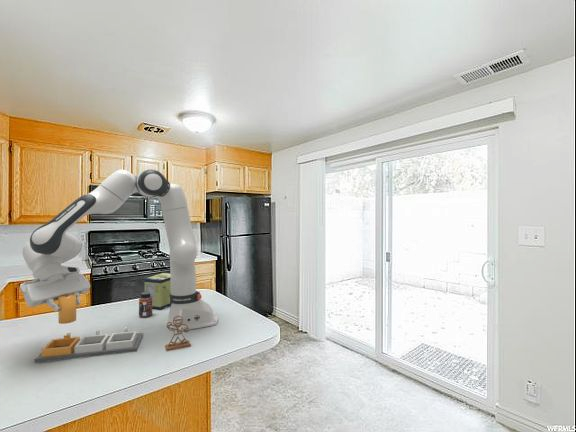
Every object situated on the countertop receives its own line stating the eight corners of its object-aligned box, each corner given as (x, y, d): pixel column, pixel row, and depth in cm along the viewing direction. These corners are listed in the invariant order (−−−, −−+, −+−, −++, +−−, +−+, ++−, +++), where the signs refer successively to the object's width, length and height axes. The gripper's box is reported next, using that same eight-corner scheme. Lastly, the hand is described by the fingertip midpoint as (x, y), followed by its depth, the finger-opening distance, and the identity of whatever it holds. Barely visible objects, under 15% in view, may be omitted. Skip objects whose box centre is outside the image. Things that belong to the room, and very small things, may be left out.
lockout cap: (78, 317, 115) (78, 293, 114) (73, 323, 110) (72, 297, 109) (62, 318, 113) (61, 294, 113) (55, 324, 108) (55, 298, 108)
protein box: (179, 301, 174) (179, 273, 174) (160, 310, 159) (160, 280, 159) (164, 299, 177) (164, 272, 177) (144, 308, 163) (143, 278, 162)
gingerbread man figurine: (188, 342, 124) (188, 312, 123) (190, 346, 120) (190, 315, 120) (165, 347, 119) (164, 316, 119) (166, 351, 116) (166, 319, 115)
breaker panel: (143, 335, 129) (142, 324, 129) (136, 351, 116) (136, 338, 115) (52, 344, 120) (52, 332, 120) (34, 362, 107) (34, 349, 107)
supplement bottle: (147, 318, 148) (147, 295, 147) (136, 317, 149) (135, 294, 149) (155, 314, 154) (154, 291, 153) (144, 313, 155) (144, 290, 154)
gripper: (21, 277, 104) (39, 311, 100) (82, 266, 123) (99, 294, 119) (13, 289, 106) (31, 322, 102) (75, 276, 125) (92, 304, 121)
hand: (68, 307), depth 111 cm, fingers closed on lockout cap, 5 cm apart
